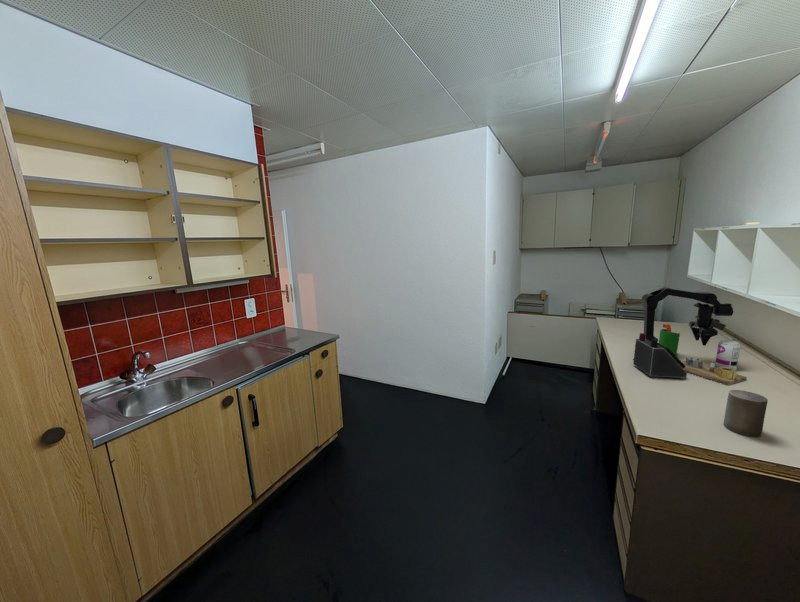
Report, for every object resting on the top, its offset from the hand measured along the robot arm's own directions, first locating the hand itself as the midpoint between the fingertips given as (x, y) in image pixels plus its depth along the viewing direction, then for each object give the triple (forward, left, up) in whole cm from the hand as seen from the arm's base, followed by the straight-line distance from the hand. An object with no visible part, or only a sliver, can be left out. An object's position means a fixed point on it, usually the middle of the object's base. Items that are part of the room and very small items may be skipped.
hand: (700, 342), depth 169 cm
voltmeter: (-29, +2, -14) cm, 32 cm away
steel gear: (-7, -2, -12) cm, 14 cm away
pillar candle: (-56, -42, -14) cm, 71 cm away
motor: (+2, +16, -14) cm, 21 cm away
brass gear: (-9, -16, -12) cm, 22 cm away
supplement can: (+9, -8, -14) cm, 18 cm away
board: (-8, -8, -13) cm, 17 cm away
